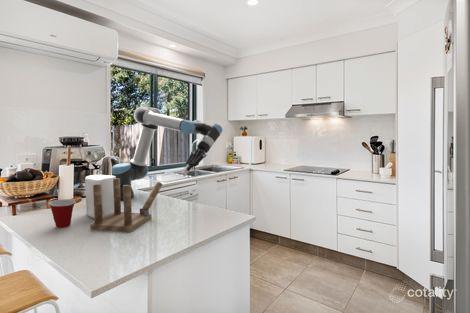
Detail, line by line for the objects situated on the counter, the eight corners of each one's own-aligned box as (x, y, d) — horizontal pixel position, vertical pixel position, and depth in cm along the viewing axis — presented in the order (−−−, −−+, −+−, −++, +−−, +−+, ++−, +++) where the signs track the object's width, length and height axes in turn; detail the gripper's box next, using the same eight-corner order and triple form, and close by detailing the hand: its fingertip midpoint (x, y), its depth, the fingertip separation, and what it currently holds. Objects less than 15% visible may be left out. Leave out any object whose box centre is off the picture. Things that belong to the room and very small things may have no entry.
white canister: (100, 220, 137) (98, 177, 135) (76, 218, 139) (74, 176, 137) (118, 211, 151) (117, 173, 149) (96, 210, 154) (94, 172, 152)
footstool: (151, 218, 139) (150, 179, 137) (130, 232, 120) (128, 186, 118) (116, 216, 143) (114, 177, 141) (90, 229, 123) (88, 185, 121)
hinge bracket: (144, 213, 140) (144, 207, 139) (149, 215, 136) (148, 209, 136) (139, 214, 138) (139, 208, 138) (144, 216, 134) (144, 210, 134)
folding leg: (145, 211, 139) (160, 184, 144) (148, 212, 137) (163, 184, 142) (140, 208, 137) (156, 181, 142) (143, 209, 135) (159, 182, 140)
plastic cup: (67, 230, 122) (66, 204, 121) (44, 229, 123) (42, 204, 122) (81, 222, 133) (80, 198, 132) (60, 222, 133) (59, 198, 132)
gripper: (215, 149, 161) (193, 180, 150) (202, 148, 170) (180, 177, 159) (209, 140, 156) (185, 171, 146) (195, 140, 165) (172, 169, 155)
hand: (183, 174), depth 153 cm, fingers closed
